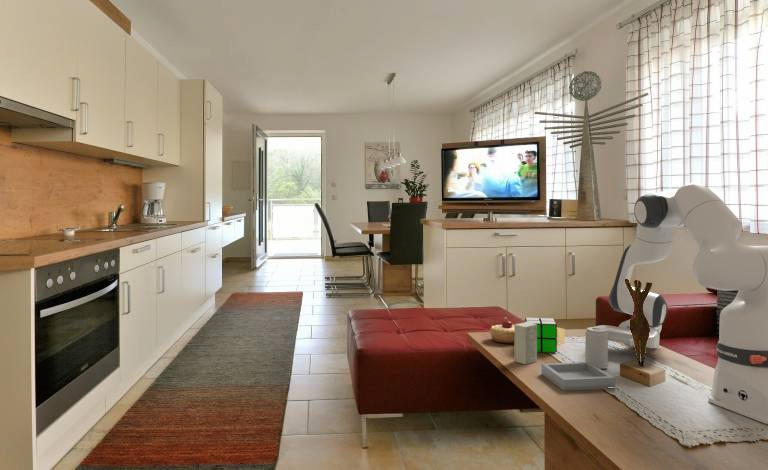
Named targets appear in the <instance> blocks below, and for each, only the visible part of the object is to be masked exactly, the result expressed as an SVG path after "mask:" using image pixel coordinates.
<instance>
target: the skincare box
mask: <svg viewBox="0 0 768 470" xmlns="http://www.w3.org/2000/svg"><path fill="white" fill-rule="evenodd" d="M513 325H514V343H513V346H514V349H513V353H514V356H513V357H514V358H513V359H514V362H516V363H519V364H522V365H528V364H532V363H535V362H537V361H538V359H537V358H538V352H537V324H533V323H529V322H525V321H524V322H519V323H516V324H513Z"/></svg>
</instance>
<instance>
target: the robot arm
mask: <svg viewBox="0 0 768 470" xmlns="http://www.w3.org/2000/svg"><path fill="white" fill-rule="evenodd" d="M633 206H634V209H633V210H634V211H633V212H634V213H633V214H634V217H635V221H636V222H637V228H636V235H635V239H634V242H633V243H632V244H628V245H627V247H626V248H625V249H624V251H623V253H622V256H621V258H620V262H619V265H618V269H617V272H616V276H615V279H614V282H613V285H612V287H611V290H610V291H609V292H610V293H609V296H608V303H609V305H610V307H611V309H612V310H613V311H615V312H619V313H624V314H628V315H631V316H633V312H634V302H633V299H632V296H631V295H630V292H629V290H628V288H627V286H626V284H625V279H628V280H629V283H630V282H631V278H632V275H633V272H634V269H635V266H637V265H644V264H645V265H646V264H654V263H658V262H660V261H663V260H665V259H667V258H668V257H669V256H670V255H671V253H672V251H673V247H674V241H675V233H676V232H675V231H676V227H677V228H678V227H685V228H686V229H687V230H688V232H689V233H690V235H691V236H692V238H693V239H694V240H695V241H696V244H697V246H698V249H699V252H698V253H697V254H696V256H695V258H694V259H693V262H692V272H693V275H694V278H695V279H696V281H697V282H698V283H699V284H700V285H701V286H702V287H705V288H707V289H713V290H716V291H717V290H718V291H723V292H725V291H731V292H732V291H737V294H736V295H735V298H734V299H733V300H732V302H730V303H729V304H727V305H726V306H725V307H724V308H722V310H721V311H720V314H719V331H718V332H719V333H718V334H719V336H718V337H719V339H718V341H717V344H716V356H717V357H718V359H717V363H716V366H715V368H714V374H713V380H712V387H711V388H712V389H711V392H710V395H709V396H708V402H709V403H710V404H714V405H716V406H719V407H721V408H723V409H727V410H729V411H732V412H735V413H737V414H740V415H742V416H745V417H747V418H749V419H752V420H755V421H757V422H760V423H763V424H765V425H768V245H745V244H743V243H741V242H740V241H739V240H738V239H739V238H740V237H741V233H742V230H743V225H742V222H741V221H740V220H739V218H738V217H737V216H736V215H735V213H734V212H733V211H732V210H731V209H730V207H728V206H727V205H726V203H725V202H724V201H723V200H722V199H721V198H720V196H718V195H717V194H716V193H715V192H714V191H712V190H711V189H710V188H708V187H707V186H705V185H704V184H701V183H698V182H691V183H686V184H684V185H682V186H680V187H679V188H678V189H677V190H664V191H660V192H659V191H658V192H655V193H652V192H651V193H647V194H644V195H641V196H640V197H638V198H637V199H636V201H635V203H634V205H633ZM631 287H632V289H633V290H635V288H636V287H634V286H632V285H631ZM643 290H644V289H641V292H642V291H643ZM668 309H669V308H668V304H667V301H666V300H665V298H664V296H663V295H661V294H658V293H655V292H652V291H649V293H648V295H647V297H646V299H645V301H644V304H643V311H644V314H645V316H646V318H647V320H648V323H649V328H650V332H649V337H648V342H647V346H646V347H645V348H647V349H648V348H649V349H656V348H658V347H660V338H661V337H660V333H661V331H662V328H663V327H662V326H663V325H664V323H665V321H666V318H667V315H668ZM631 319H632V318H631ZM631 319H628V320H625V321H623V322H621V323H619V325H618V326H613V325H605V324H601V325H597V326H596V325H595V326H594V327H599V328H604V329H606V330H607V333H608V342H609V341H610V342H615V343H621V344H624V345H625V346H627V347H630V348H633V347H634V341H633V337H632V333H631V330H630V320H631ZM634 348H635V347H634Z"/></svg>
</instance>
